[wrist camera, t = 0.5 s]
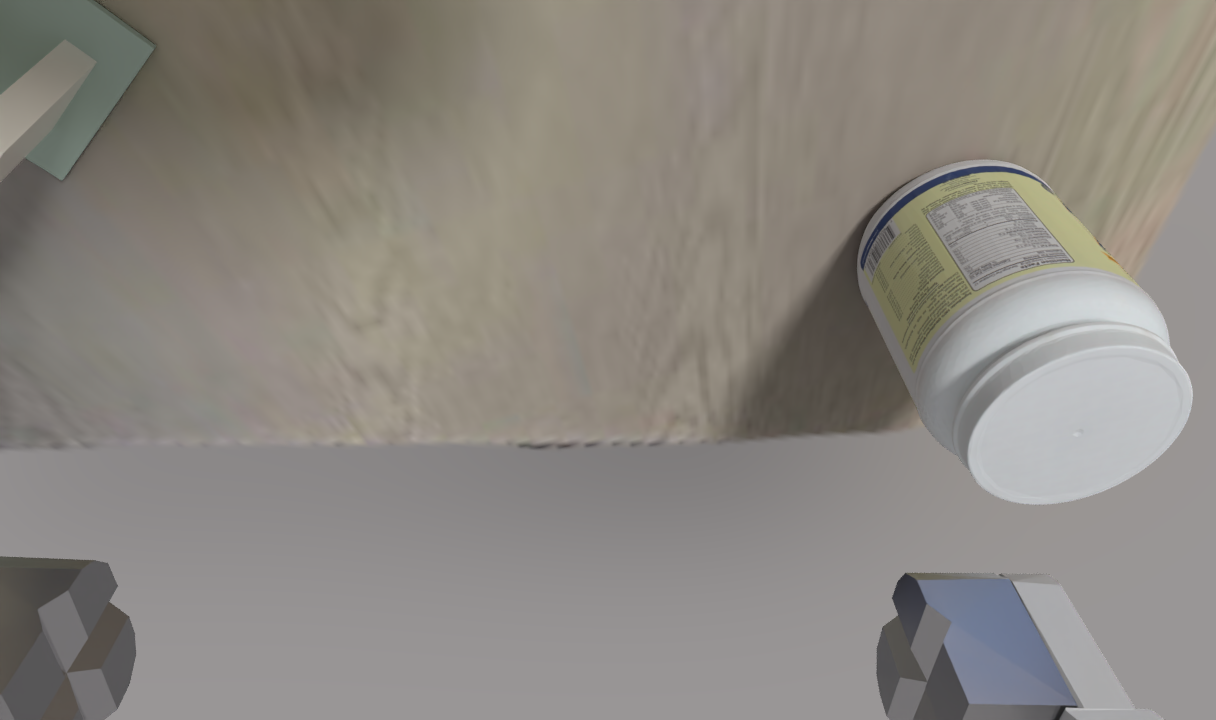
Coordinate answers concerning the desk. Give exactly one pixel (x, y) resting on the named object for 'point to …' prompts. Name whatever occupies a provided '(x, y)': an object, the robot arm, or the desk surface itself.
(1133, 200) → the desk surface
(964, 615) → the robot arm
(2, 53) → the mat
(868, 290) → the supplement tub
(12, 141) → the domino
